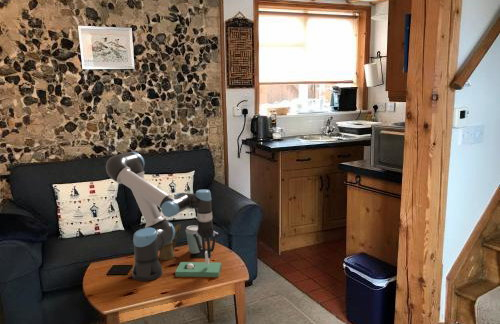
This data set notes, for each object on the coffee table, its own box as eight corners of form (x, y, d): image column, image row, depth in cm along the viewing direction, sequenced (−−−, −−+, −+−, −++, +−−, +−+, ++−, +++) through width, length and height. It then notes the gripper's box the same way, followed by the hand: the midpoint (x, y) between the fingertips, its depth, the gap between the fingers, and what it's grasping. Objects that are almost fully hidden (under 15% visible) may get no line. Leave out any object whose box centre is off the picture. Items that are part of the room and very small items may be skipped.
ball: (184, 266, 212) (191, 264, 212) (186, 263, 216) (193, 261, 216) (187, 273, 213) (194, 270, 212) (189, 270, 217) (196, 267, 216)
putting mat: (175, 276, 209) (175, 271, 209) (180, 266, 221) (180, 262, 220) (218, 277, 208) (218, 272, 207) (221, 266, 220) (221, 262, 219)
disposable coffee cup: (198, 246, 248) (197, 222, 246) (208, 251, 240) (207, 227, 237) (182, 251, 241) (181, 226, 239) (192, 256, 233) (191, 231, 231)
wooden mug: (184, 256, 235) (183, 225, 231) (162, 261, 227) (160, 230, 224) (178, 251, 242) (177, 221, 239) (156, 256, 235) (154, 226, 232)
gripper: (190, 222, 206) (193, 266, 210) (216, 222, 205) (218, 266, 209) (193, 218, 213) (196, 261, 217) (218, 217, 212) (220, 260, 216)
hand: (207, 263), depth 213 cm, fingers closed
